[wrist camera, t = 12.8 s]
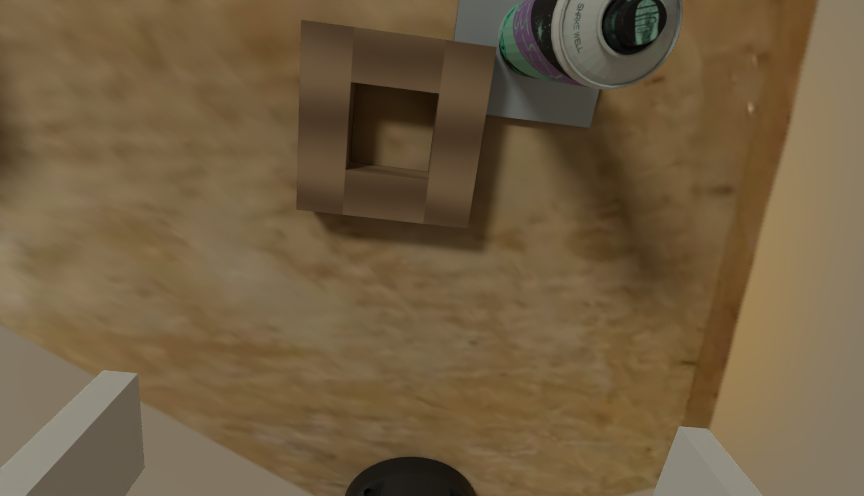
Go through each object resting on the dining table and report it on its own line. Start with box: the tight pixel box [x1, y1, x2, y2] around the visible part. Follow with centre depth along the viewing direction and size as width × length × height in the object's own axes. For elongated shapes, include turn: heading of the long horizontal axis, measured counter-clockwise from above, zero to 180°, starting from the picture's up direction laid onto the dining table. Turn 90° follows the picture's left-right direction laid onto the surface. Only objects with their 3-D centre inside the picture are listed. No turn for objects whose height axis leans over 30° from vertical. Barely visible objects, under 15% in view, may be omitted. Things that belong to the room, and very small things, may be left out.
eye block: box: [297, 20, 497, 229], centre depth 39 cm, size 14×14×3 cm
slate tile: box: [454, 0, 599, 128], centre depth 37 cm, size 12×12×1 cm
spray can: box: [497, 0, 683, 90], centre depth 28 cm, size 6×6×20 cm
